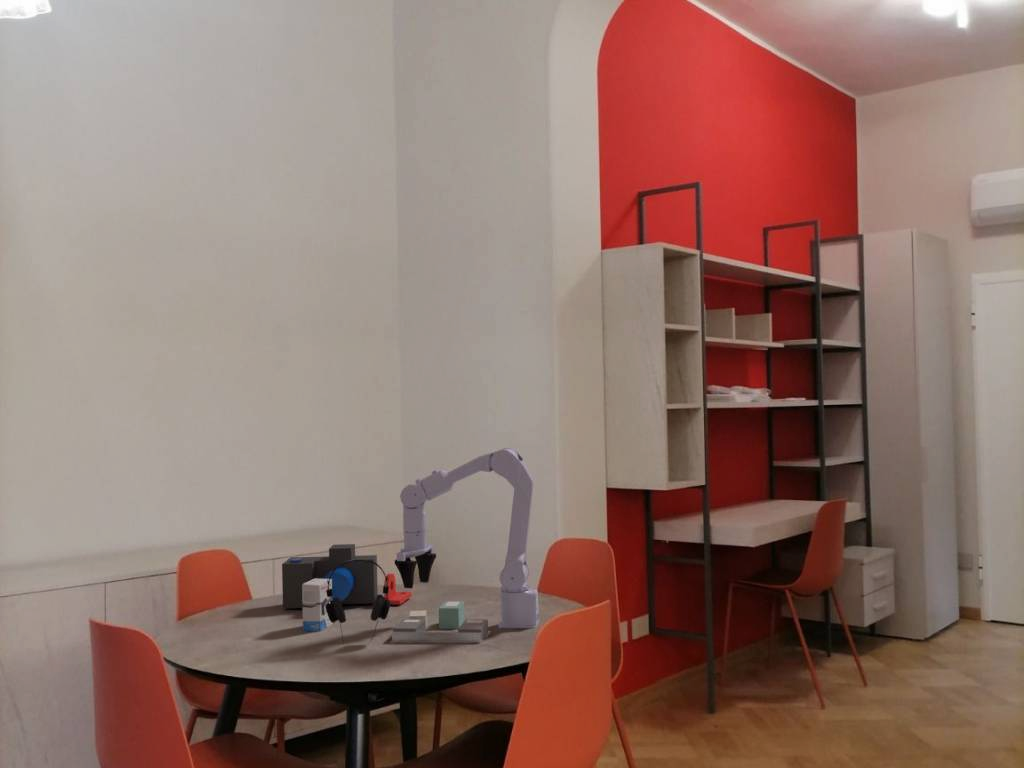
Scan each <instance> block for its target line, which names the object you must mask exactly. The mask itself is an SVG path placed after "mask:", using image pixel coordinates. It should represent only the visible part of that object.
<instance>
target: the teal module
mask: <svg viewBox="0 0 1024 768" xmlns="http://www.w3.org/2000/svg"><path fill="white" fill-rule="evenodd" d="M465 603H466V602H465V601H464V600H463V601H462V600H461V601H458V600H457V601H456V600H454V601H453V600H452V601H451V600H450V601H444V602H443V603H442V604H441V605H440V606H439V607H438V630H439V629H440V630H443V629H444V630H445V629H446V630H447V629H448V630H449V629H451V630H453V629H454V630H458V628H459V627H460V626H461V624H462V623H463V622H464V621H465V619H466V618H465V617H466V613H465V612H466V611H465V605H466V604H465Z"/></svg>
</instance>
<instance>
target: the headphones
mask: <svg viewBox="0 0 1024 768" xmlns="http://www.w3.org/2000/svg"><path fill="white" fill-rule="evenodd" d="M352 561H366V562H371V563H373V564H375V565H377V568H379V569H380V570H381V572H382V573H383V576H384V577H385V578H384V580H385V579H386V585H387V578H388V577H386V573H385V571H384V570H383V568H382V567H381V566H380V565H379V564H378V563H375V562H373V561H371V560H367V559H352V560H347V561H345V562H343V563H341V564H339V565H338V566H337V567H335V569H334V570H333V571H332V573H331V575H330V578H331V576H332V574H333V572H334V571H335V570H336V569H337V568H338V567H339V566H341V565H342V564H345V563H348V562H352ZM330 578H329V581H328V580H327V582H328V589H327V590H326V592H327V597H330V603H327V604H326V605H325V608H326V611H327V614H328V617H329V619H330V621H331V622H332V623H333V624H334V623H336V621H337V622H339V625H340V629H341V630H340V631H341V632H343V629H342V623H345V622H346V621H347V617H346V613H345V610H344V608H343V604H341V602H340V599H339V598H338V597H335V598H333V600H331V596H333V593H332V589H329V582H330ZM388 591H389V586H388V585H387V586H384V585H383V587H382V593H383V594H384V593H385V595H386V594H388ZM383 594H378V596H377V597H376V599H375V602H374V603H373V605H372V610H371V614H370V619H371V621H375V622H376V621H377V622H376V624H375V628H374V630H377V629H376V628H377V625H378V621H379V620H380V619H381V620H383V621H384V620H385V619H387V617H388V614H389V611H390V608H391V604H390V603H391V602H390V600H388V599H386V598H385V596H383ZM375 633H376V631H374V632H373V635H372V637H371V638H370V641H368V643H370V642H371V641H372V640H373V638H374V637H375ZM341 637H342V639H344V637H343V634H341ZM342 642H343V643H344V642H345V641H344V640H342Z"/></svg>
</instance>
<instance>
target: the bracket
mask: <svg viewBox="0 0 1024 768" xmlns="http://www.w3.org/2000/svg"><path fill="white" fill-rule="evenodd" d="M385 576H386V577H388V578H387V585H388V586H389V591H388V594H386V595H385V593H383V594H384V596H385V598H386V599H388V600H390V602H391V603H390V605H394V606H395V605H396V606H397V605H402V604H403V603H405V602H406V601H407V600H408V599H411V597H412V592H411V591H397V589H396V587H397V586H396V583H397V582H396V577H395V574H394V573H387V574H385ZM387 585H386V579H385V578H384V585H383V586H387ZM384 596H383V597H384Z"/></svg>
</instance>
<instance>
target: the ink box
mask: <svg viewBox="0 0 1024 768" xmlns="http://www.w3.org/2000/svg"><path fill="white" fill-rule="evenodd" d="M327 580H328V581H329V579H317V578H316V579H313V580H310V581H308V582H306V583H304V584H303V585H302V603H303V608H302V632H322V631H323V630H325V629H327V628H329V627H330V626H332V625H333V624H334V623H332V622H331V621H330V619H329V617H328V614H327V611H326V608H325V605H326V604H327V603H330V597H327V592H326V590H327V589H328V582H327ZM329 589H332V579H330V582H329ZM331 600H332V596H331Z"/></svg>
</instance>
